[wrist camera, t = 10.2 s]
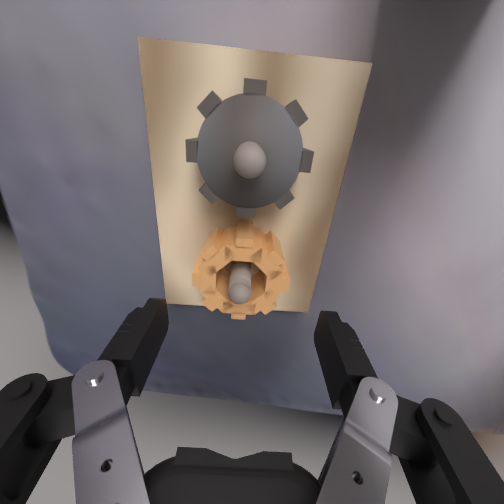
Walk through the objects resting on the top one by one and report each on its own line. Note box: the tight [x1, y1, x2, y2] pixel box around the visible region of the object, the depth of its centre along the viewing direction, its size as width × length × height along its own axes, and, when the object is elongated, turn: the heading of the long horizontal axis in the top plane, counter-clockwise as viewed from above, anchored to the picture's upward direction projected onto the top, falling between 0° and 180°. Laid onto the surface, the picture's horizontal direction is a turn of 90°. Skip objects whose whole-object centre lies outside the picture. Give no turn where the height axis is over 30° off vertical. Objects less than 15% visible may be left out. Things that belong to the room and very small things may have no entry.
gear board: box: [137, 37, 373, 312], centre depth 14 cm, size 12×17×7 cm
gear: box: [192, 220, 290, 320], centre depth 16 cm, size 6×6×3 cm
